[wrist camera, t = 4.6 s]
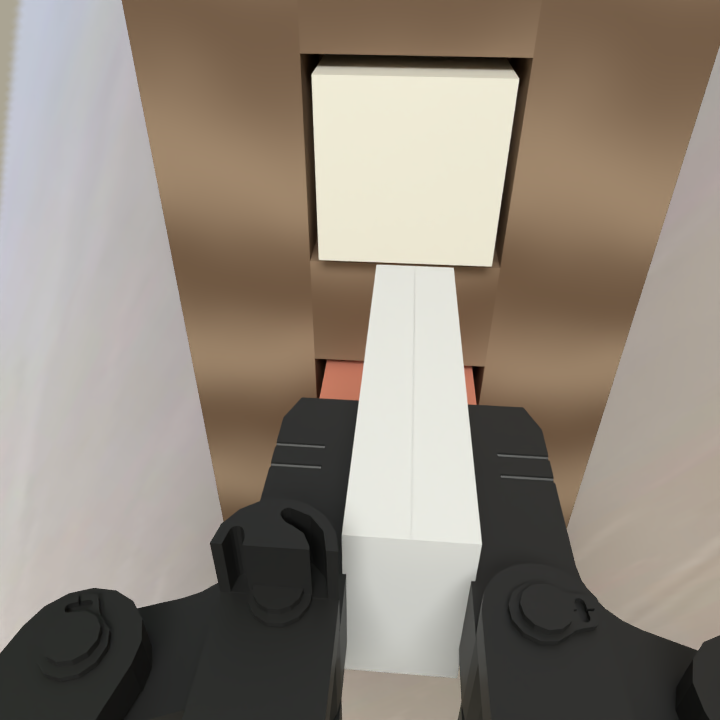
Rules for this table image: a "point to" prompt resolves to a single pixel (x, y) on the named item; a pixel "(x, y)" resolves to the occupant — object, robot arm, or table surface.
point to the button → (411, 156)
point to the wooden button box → (356, 279)
